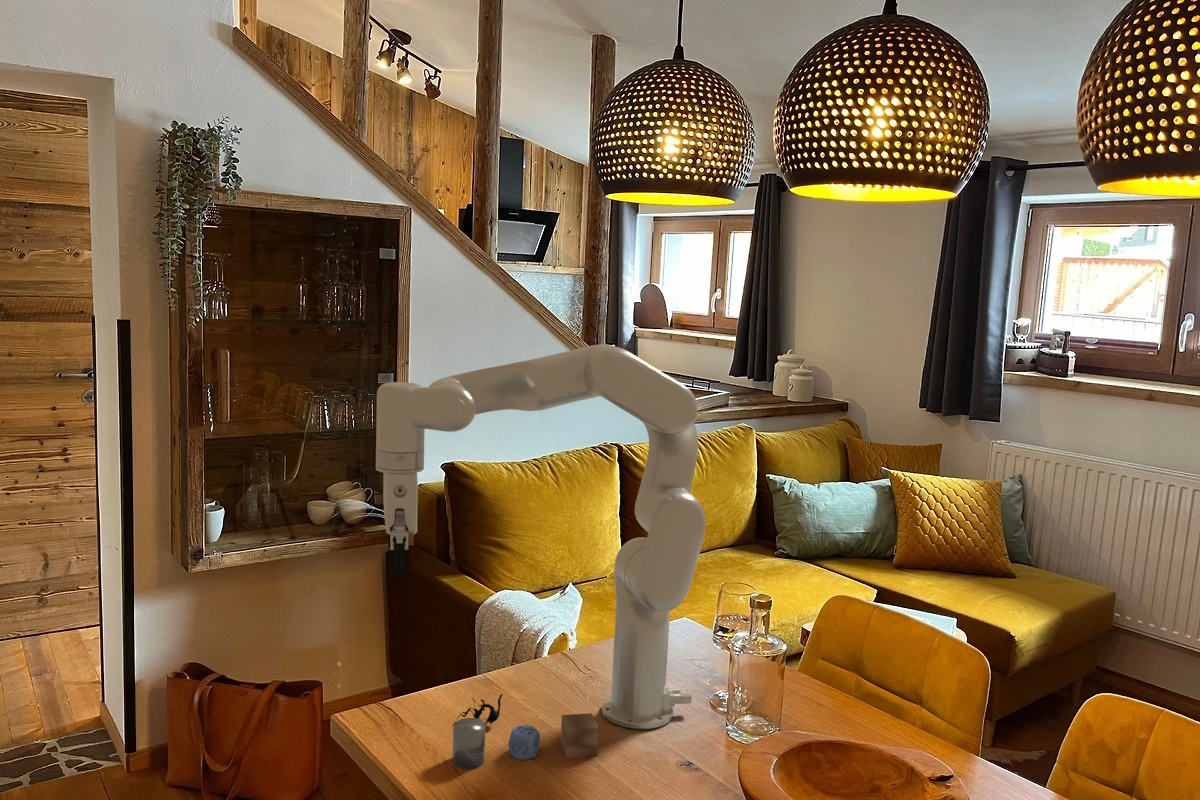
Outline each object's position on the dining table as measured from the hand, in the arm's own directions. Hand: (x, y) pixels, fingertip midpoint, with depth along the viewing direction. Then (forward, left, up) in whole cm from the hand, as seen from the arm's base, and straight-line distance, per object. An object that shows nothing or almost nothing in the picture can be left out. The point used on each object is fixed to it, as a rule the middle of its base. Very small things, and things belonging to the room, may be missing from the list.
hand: (398, 564), depth 152 cm
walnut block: (-29, +10, -29) cm, 42 cm away
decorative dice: (-20, +10, -29) cm, 37 cm away
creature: (-14, -2, -29) cm, 32 cm away
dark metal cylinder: (-11, +11, -29) cm, 33 cm away
